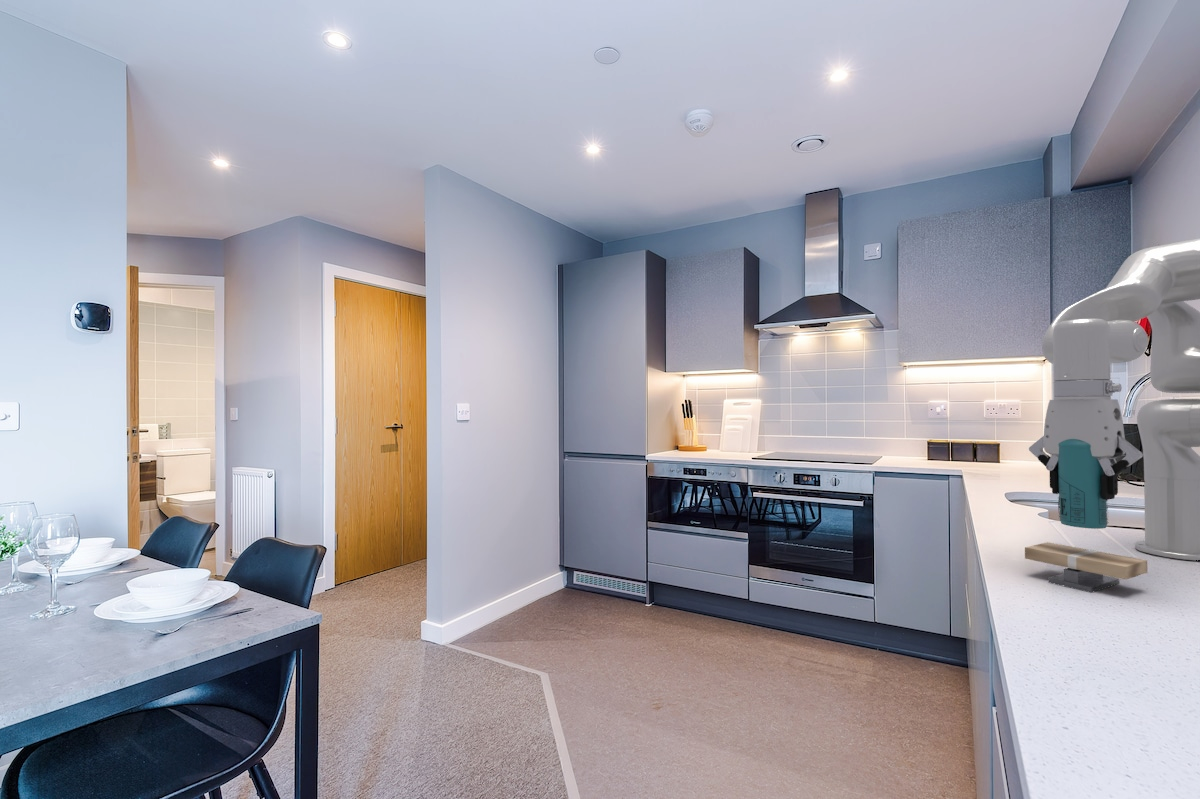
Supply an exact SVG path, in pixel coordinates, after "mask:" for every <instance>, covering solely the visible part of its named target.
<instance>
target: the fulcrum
mask: <svg viewBox="0 0 1200 799" xmlns="http://www.w3.org/2000/svg"><path fill="white" fill-rule="evenodd" d="M1049 582H1051V583H1050V584H1053V583H1055V585H1058V584H1059V585H1058V586H1062V585H1064V586H1063V587H1066V586H1068V588H1071V587H1073V588H1072V589H1075V588H1076V590H1079V589H1080V590H1079V591H1083V590H1085V591H1084V592H1088V591H1089V593H1094V592H1097V591H1100V590H1103V589H1106V588H1109V587H1108V586H1110V587H1112V586H1111V585H1113V586H1115V585H1114V584H1116V585H1118V584H1117V583H1119V584H1120V578H1116V577H1111V576H1106V575H1101V574H1096V573H1092V572H1087V571H1082V570H1077V569H1071V568H1068V567H1065V568H1063V573H1059V574H1057V575H1054V576H1050V577H1048V583H1049ZM1105 587H1106V588H1105ZM1102 588H1103V589H1102ZM1099 589H1100V590H1099ZM1093 591H1094V592H1093Z"/></svg>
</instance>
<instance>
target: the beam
mask: <svg viewBox="0 0 1200 799" xmlns="http://www.w3.org/2000/svg"><path fill="white" fill-rule="evenodd" d="M1024 559H1025V560H1029V561H1030V560H1031V561H1034V562H1040V563H1044V564H1050V565H1053V566H1059V567H1064V568H1071V569H1077V570H1082V571H1087V572H1092V573H1096V574H1101V575H1104V576H1109V577H1114V578H1119V580H1121V579H1122V580H1129V579H1132V578H1135V577H1138V576H1141V575H1144V574H1147V573H1148V559H1141V558H1136V557H1133V556H1127V555H1120V554H1115V553H1109V552H1105V551H1104V552H1103V551H1099V550H1093V549H1087V548H1081V547H1076V546H1070V545H1064V544H1059V543H1054V542H1049V541H1046V542H1044V543H1038V544H1035V545H1030V546H1026V547H1024Z"/></svg>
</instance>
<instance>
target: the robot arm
mask: <svg viewBox="0 0 1200 799" xmlns="http://www.w3.org/2000/svg"><path fill="white" fill-rule="evenodd" d="M1197 300H1200V237H1199V238H1195V239H1187V240H1182V241H1178V242H1173V243H1167V244H1161V245H1155V246H1151V247H1146V248H1143V249H1140V250H1137V251H1136V252H1134V253H1132V254H1131V255H1129V256H1128V257H1127V258H1125V260H1124V262H1123V263H1122V264H1121V266H1120V267H1119V268H1118V270H1117V271H1116V273H1115V274H1114V276H1112V279H1111V280H1110V281H1109V283H1108V284H1107V285H1106V287H1105V288H1103V289H1101V290H1099V291H1097V292H1095V293H1093V294H1091V295H1088V296H1087V297H1085V298H1083V299H1081V300H1080V301H1077V302H1075V303H1073V304H1071V305H1070V306H1068V307H1066V308H1065V309H1063V310H1062V311H1061V312H1060V313H1059V314H1057V316H1056V317H1055V318H1054V319H1053V321H1052V322H1051V324H1050V325H1049V326H1048V328H1047V329H1046V331H1045V333H1044V336H1043V338H1042V342H1041V351H1042V356H1043V357H1044V359H1046V361H1048V362H1049V363H1050V364H1052V365H1053V373H1052V374H1053V383H1052V384H1053V399H1049V402H1048V405H1047V408H1046V413H1045V419H1044V427H1043V435H1042V436H1041V437H1040V438H1039V439H1037V441H1035V442H1033V444H1031V446H1029V447H1028V450H1029V452H1030V453H1031V454H1032V455H1033V456H1034V457H1036V458H1037V459H1038V461H1039V462H1041V464H1042V465H1044V466H1045V469H1046V470H1047V471H1049V488H1050V489H1051V491H1052V492H1051V493H1052V494H1053V495H1054V494H1055V495H1059V488H1058V486H1059V477H1058V455H1059V446H1058V444H1059V443H1060V442H1062V441H1064V440H1068V439H1078V440H1082V441H1084V442H1086V443H1088V444H1090V445H1091V448H1090V449H1091V453H1092V456H1093V457H1095V458H1097V459H1098V461H1099V463H1100V464H1101V466H1102V468H1103V470H1104V475H1102V476H1101V498H1102V499H1104V500H1108V501H1109V500H1114V499H1115V496H1117V495H1118V493H1119V484H1118V483H1119V480H1118V477H1119V475H1121V473H1122V472H1124V471H1125V470H1127V469H1128V468H1129V467H1131V466H1132V465H1133V464H1134V463H1136V462H1137V461H1139V460H1140V459H1142V458H1143V478H1144V479H1143V483H1144V484H1143V486H1144V487H1143V488H1144V540H1140V541H1136V542H1135V543H1134V548H1135V549H1136V550H1137V551H1140V552H1143V553H1146V554H1150V555H1154V556H1158V557H1165V558H1171V559H1175V560H1177V559H1178V560H1185V561H1187V560H1188V561H1195V562H1196V560H1197V562H1199V561H1198V560H1200V455H1199V454H1198V453H1197V452H1196V451H1195V450H1194V449H1193V448H1200V398H1172V399H1171V398H1168V399H1167V398H1166V399H1158V400H1153V401H1150V402H1148V403H1146V404H1145V403H1144V405H1142V406H1141V407H1140V408H1139V410H1138V412H1137V416H1136V424H1137V428H1138V432H1139V437H1140V442H1141V446H1142V451H1140V450H1139V448H1137V447H1135V446H1134V445H1133V444H1132V443H1130V442H1129V441H1128V440H1127V439H1126V437H1125V429H1124V421H1123V415H1122V411H1121V407H1120V404H1119V400H1118V399H1116V398H1115V399H1112V396H1113V394H1114V393H1118V392H1119V393H1120V392H1121V391H1122V388H1123V387H1122V384H1121V383H1114V382H1113V379H1111V364H1121V363H1129V362H1132V361H1134V360H1137V359H1138V358H1140V357H1141V356H1142V355H1144V353H1145V352H1146V350H1147V347H1148V344H1149V343H1148V342H1149V337H1148V333H1147V332H1146V331H1145V329H1144V328H1143V326H1141V324H1139V323H1137V322H1136V321H1140V320H1142V319H1144V318H1147V319H1148V320H1147V321H1148V322H1149V324H1150V327H1151V351H1150V368H1149V369H1150V370H1149V372H1150V373H1149V374H1150V383H1151V385H1152V387H1153V388H1154V389H1155V390H1156V391H1159V392H1161V393H1166V394H1167V393H1168V394H1200V311H1199V310H1198V309H1196V308H1194V307H1193V306H1191V305H1190V304H1188V303H1187V302H1188V301H1197ZM1050 455H1051V456H1050ZM1124 455H1125V456H1124ZM1123 456H1124V457H1123ZM1120 457H1123V458H1122V459H1120V460H1118V461H1117V460H1116V458H1120Z"/></svg>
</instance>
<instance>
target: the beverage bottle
mask: <svg viewBox="0 0 1200 799" xmlns="http://www.w3.org/2000/svg"><path fill="white" fill-rule="evenodd" d="M1058 446H1059V455H1058V477H1059V486H1058V488H1059V494H1058V504H1057V507H1058V519H1059V522H1060V524H1061V525H1064V526H1068V527H1074V528H1080V529H1081V528H1082V529H1092V530H1093V529H1095V530H1096V529H1097V530H1098V529H1099V530H1100V529H1101V530H1103V529H1106V528H1107V525H1108V524H1109V522H1108V521H1109V520H1108V503H1109V500H1104V499H1102V498H1101V476H1102V475H1104V470H1103V468H1102V466H1101V464H1100V463H1099V461H1098V459H1097V458H1095V457H1093V456H1092V453H1091V449H1090V448H1091V445H1090V444H1088V443H1086V442H1084V441H1082V440H1078V439H1068V440H1064V441H1062V442H1060V443H1059V444H1058Z"/></svg>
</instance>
